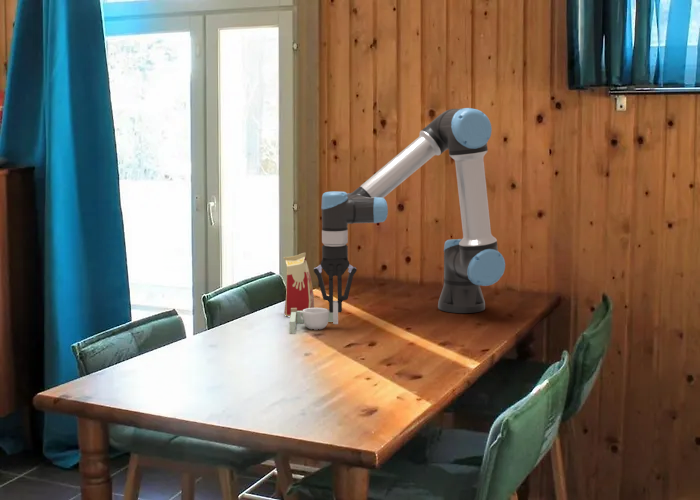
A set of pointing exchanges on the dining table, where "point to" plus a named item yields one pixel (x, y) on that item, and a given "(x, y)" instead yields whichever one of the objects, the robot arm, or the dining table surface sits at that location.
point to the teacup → (315, 318)
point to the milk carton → (298, 284)
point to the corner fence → (296, 319)
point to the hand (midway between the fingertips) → (335, 323)
